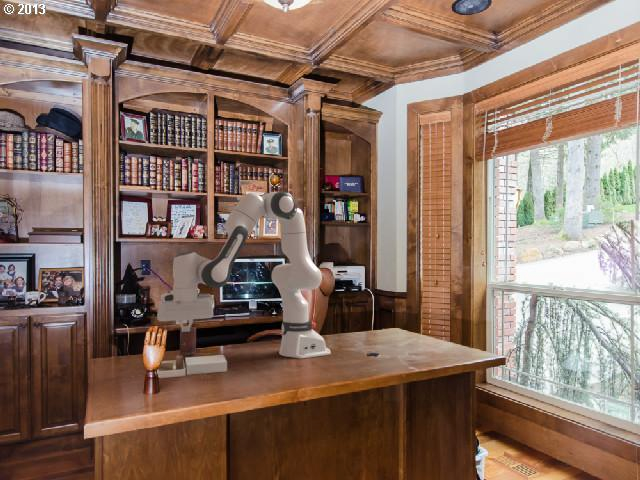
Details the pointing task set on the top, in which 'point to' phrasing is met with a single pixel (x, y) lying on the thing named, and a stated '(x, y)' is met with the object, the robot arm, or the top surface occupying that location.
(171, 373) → the tray
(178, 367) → the tile
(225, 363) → the white holder base
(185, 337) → the can
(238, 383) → the top surface
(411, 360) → the top surface
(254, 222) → the robot arm
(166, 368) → the tile
